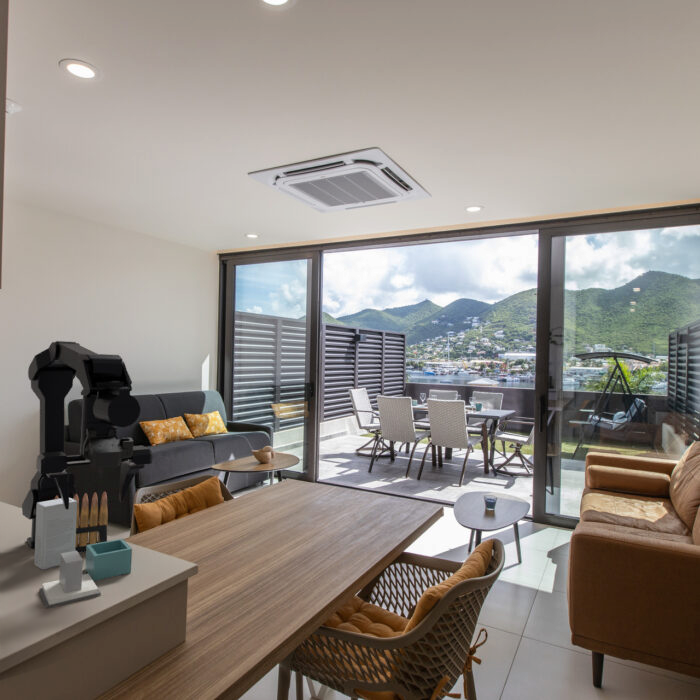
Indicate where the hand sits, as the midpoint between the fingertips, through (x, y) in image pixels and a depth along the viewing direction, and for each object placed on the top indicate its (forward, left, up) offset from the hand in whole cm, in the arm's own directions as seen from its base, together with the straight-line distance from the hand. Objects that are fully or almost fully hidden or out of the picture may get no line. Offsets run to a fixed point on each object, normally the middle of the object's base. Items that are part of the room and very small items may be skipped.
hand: (94, 505), depth 93 cm
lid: (+5, -4, -13) cm, 14 cm away
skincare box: (-10, -4, -13) cm, 17 cm away
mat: (+5, -4, -13) cm, 15 cm away
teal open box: (-1, +3, -13) cm, 13 cm away
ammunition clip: (-14, +1, -13) cm, 19 cm away
